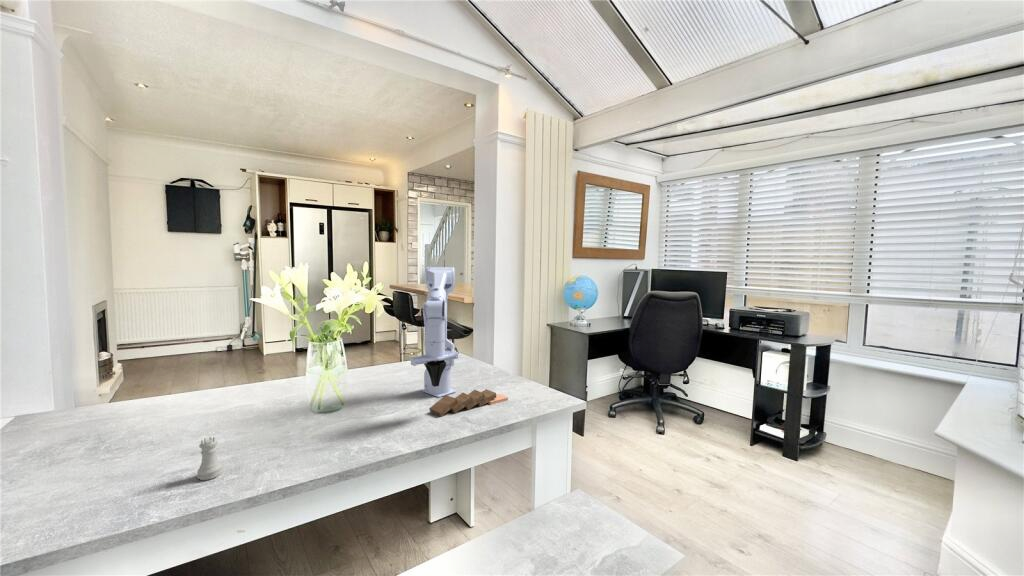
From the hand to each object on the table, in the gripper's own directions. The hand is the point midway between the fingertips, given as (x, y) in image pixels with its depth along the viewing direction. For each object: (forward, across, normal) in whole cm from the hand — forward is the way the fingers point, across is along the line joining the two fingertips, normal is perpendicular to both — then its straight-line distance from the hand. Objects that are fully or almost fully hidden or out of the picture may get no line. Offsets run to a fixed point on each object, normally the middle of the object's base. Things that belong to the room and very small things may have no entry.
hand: (435, 385), depth 122 cm
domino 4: (+8, +14, 0) cm, 16 cm away
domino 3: (+8, +10, 0) cm, 13 cm away
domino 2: (+8, +5, 0) cm, 10 cm away
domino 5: (+9, +18, 0) cm, 20 cm away
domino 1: (+8, 0, 0) cm, 8 cm away
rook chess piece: (+9, -55, -3) cm, 55 cm away
